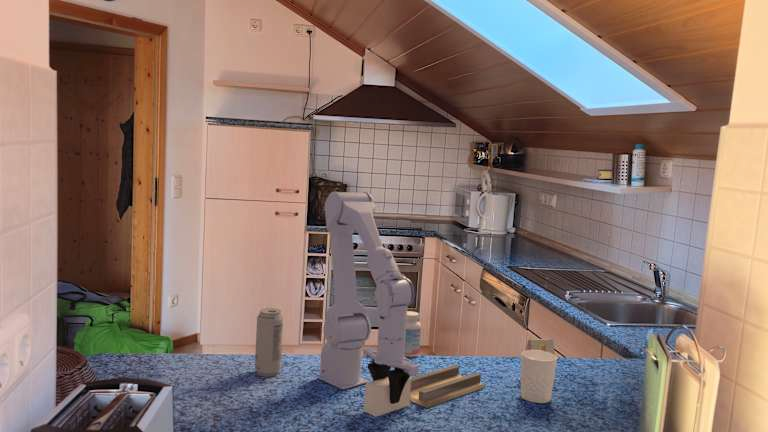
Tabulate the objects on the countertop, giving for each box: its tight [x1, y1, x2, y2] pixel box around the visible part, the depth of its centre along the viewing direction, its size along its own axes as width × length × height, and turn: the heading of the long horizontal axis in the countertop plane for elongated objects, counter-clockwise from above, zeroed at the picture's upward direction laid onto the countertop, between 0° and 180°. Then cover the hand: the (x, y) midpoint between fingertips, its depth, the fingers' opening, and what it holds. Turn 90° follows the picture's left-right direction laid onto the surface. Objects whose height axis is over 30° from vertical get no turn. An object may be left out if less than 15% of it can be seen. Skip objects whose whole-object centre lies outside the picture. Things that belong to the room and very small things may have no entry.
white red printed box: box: [524, 338, 556, 355], centre depth 161 cm, size 4×7×10 cm, turn 107°
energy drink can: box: [254, 307, 284, 377], centre depth 153 cm, size 6×6×15 cm
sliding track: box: [410, 364, 484, 409], centre depth 149 cm, size 10×20×3 cm, turn 135°
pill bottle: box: [404, 310, 422, 358], centre depth 174 cm, size 6×6×11 cm
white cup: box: [520, 350, 558, 404], centre depth 148 cm, size 8×8×10 cm
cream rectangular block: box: [363, 377, 412, 418], centre depth 137 cm, size 4×10×6 cm, turn 135°
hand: (387, 399), depth 137 cm, fingers closed on cream rectangular block, 3 cm apart
